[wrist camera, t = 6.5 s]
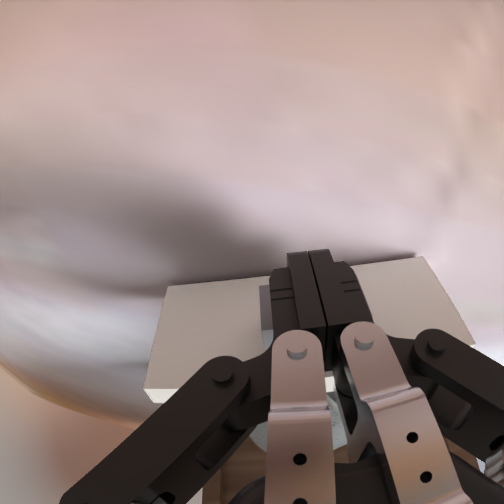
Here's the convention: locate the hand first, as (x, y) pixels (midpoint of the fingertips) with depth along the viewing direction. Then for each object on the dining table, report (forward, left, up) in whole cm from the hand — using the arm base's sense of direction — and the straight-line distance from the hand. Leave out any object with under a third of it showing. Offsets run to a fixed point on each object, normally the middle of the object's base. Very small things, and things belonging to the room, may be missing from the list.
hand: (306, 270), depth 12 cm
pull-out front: (+3, 0, -4) cm, 5 cm away
